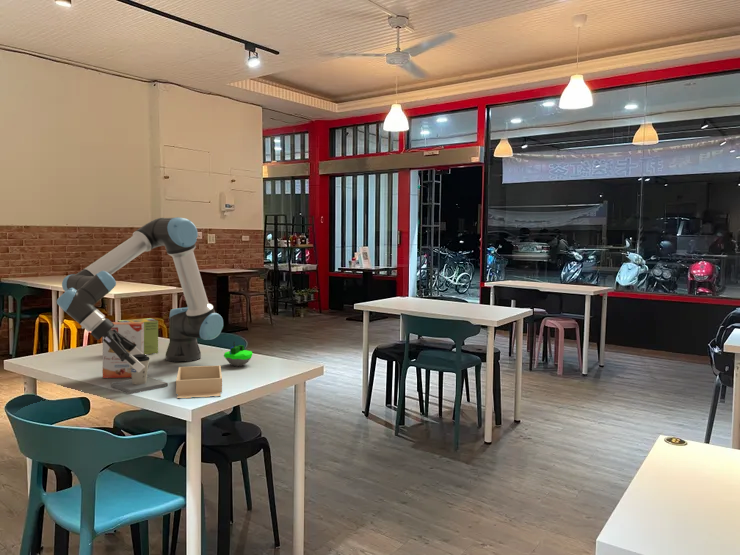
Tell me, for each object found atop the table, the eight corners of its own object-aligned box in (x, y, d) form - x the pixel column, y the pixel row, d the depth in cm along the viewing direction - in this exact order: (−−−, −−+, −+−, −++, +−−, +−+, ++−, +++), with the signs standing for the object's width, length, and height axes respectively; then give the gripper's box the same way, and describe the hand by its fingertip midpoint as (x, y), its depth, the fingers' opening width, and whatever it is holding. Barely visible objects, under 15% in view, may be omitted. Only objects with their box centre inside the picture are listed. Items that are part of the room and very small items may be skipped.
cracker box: (102, 378, 209) (101, 324, 208) (105, 375, 215) (105, 321, 213) (141, 377, 212) (141, 323, 211) (144, 374, 218) (144, 321, 217)
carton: (175, 399, 184) (175, 384, 184) (179, 376, 214) (179, 364, 214) (222, 396, 189) (222, 382, 188) (220, 375, 219) (220, 362, 218)
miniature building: (244, 369, 230) (245, 343, 229) (219, 367, 232) (219, 341, 232) (256, 363, 242) (257, 338, 241) (232, 361, 244) (232, 336, 243)
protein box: (158, 353, 258) (158, 320, 257) (124, 357, 248) (123, 322, 247) (151, 349, 266) (151, 317, 265) (117, 353, 256) (117, 320, 255)
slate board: (147, 379, 209) (147, 376, 209) (167, 386, 200) (167, 382, 200) (111, 386, 199) (111, 382, 198) (130, 393, 190) (130, 390, 190)
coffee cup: (148, 379, 204) (148, 353, 204) (150, 384, 198) (150, 356, 197) (128, 381, 201) (128, 354, 201) (129, 386, 195) (129, 358, 194)
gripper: (96, 327, 205) (139, 365, 211) (82, 338, 182) (131, 381, 187) (111, 313, 207) (154, 351, 212) (99, 322, 183) (148, 365, 188)
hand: (144, 365), depth 199 cm, fingers open, 13 cm apart
